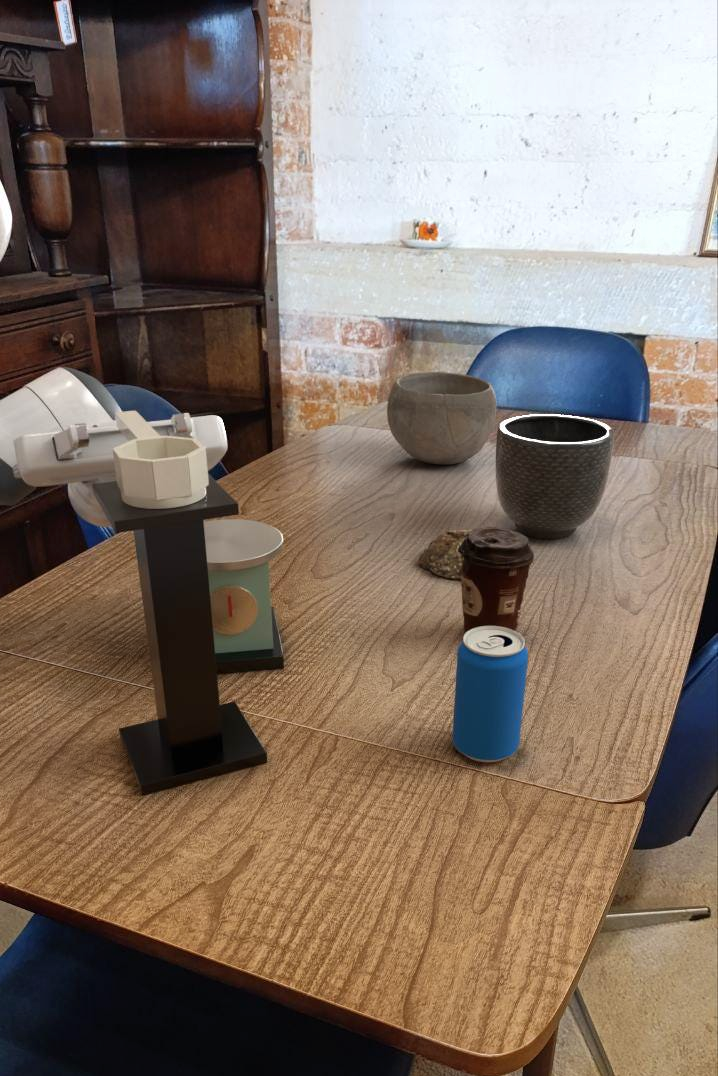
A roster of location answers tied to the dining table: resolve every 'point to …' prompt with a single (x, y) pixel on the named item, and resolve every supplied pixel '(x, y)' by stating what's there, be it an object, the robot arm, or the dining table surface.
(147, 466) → the handled bowl
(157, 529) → the shelf stand
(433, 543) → the brown rock
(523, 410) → the dining table surface
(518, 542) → the coffee cup
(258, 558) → the scale
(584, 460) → the planter
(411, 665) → the dining table surface
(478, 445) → the bowl
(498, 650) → the beverage can
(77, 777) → the dining table surface
